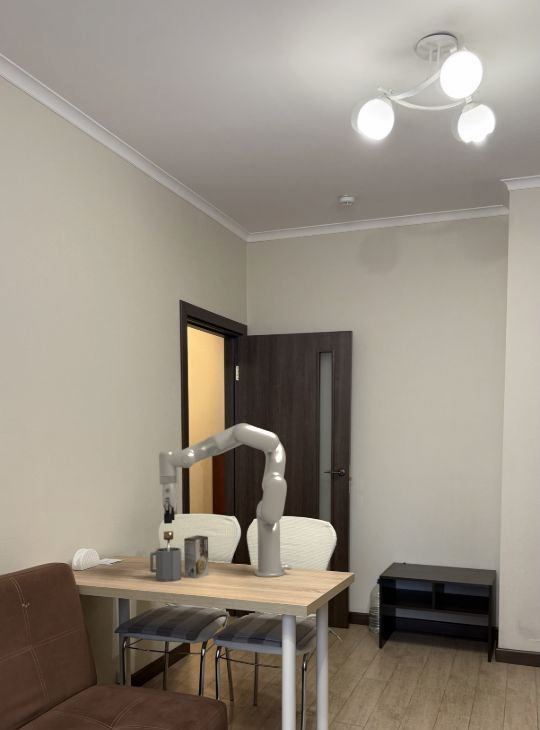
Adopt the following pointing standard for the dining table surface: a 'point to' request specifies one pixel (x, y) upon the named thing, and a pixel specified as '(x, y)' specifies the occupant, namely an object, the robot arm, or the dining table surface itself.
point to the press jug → (167, 564)
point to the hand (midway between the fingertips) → (169, 521)
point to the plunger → (168, 538)
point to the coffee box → (196, 556)
